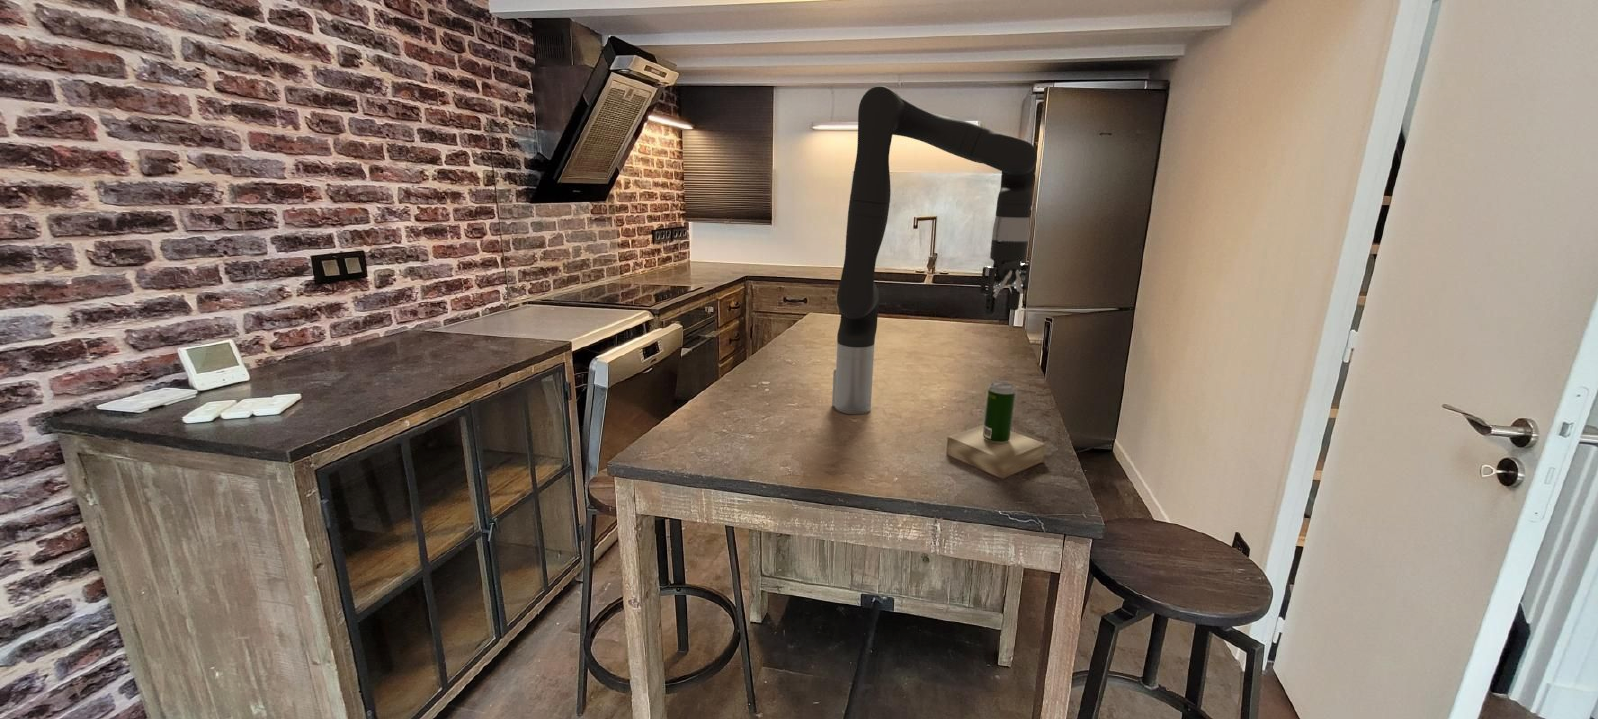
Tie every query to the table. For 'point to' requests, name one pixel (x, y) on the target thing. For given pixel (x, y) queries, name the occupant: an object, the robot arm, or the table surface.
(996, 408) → the beer can
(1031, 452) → the oak pedestal
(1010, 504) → the table surface
